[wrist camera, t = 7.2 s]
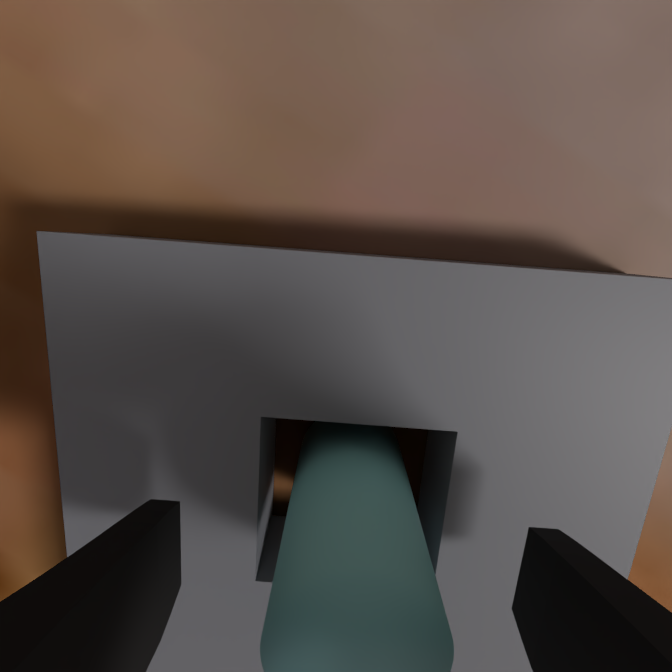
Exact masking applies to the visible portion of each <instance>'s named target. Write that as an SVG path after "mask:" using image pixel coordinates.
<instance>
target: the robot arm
mask: <svg viewBox="0 0 672 672" xmlns="http://www.w3.org/2000/svg"><path fill="white" fill-rule="evenodd" d="M180 587H181V526H180V501H170V500H157V499H150V500H148V501H147V502H145V503H144V504H142V505H141V506H139V507H138V508H136V509H135V510H134V511H132V512H131V513H129V514H128V515H127V516H125V517H124V518H122V519H121V520H120V521H118V522H117V523H115V524H114V525H113V526H111V527H110V528H108V529H107V530H106V531H104V532H103V533H101V534H100V535H99V536H97V537H96V538H94V539H93V540H91V541H90V542H89V543H87V544H86V545H84V546H83V547H81V548H80V549H79V550H77V551H76V552H74V553H73V554H71V555H70V556H68V557H67V558H66V559H64V560H63V561H61V562H60V563H58V564H57V565H56V566H54V567H53V568H51V569H50V570H48V571H47V572H45V573H44V574H42V575H41V576H39V577H38V578H36V579H35V580H33V581H32V582H30V583H29V584H27V585H25V586H24V587H22V588H21V589H19V590H18V591H16V592H15V593H13V594H12V595H10V596H9V597H7V598H5V599H4V600H2V601H1V602H0V672H146V671H147V669H148V666H149V664H150V662H151V660H152V658H153V656H154V654H155V652H156V650H157V648H158V645H159V643H160V641H161V639H162V636H163V633H164V631H165V628H166V626H167V623H168V620H169V618H170V615H171V612H172V609H173V607H174V604H175V601H176V598H177V595H178V593H179V590H180ZM512 611H513V615H514V618H515V621H516V624H517V627H518V630H519V633H520V636H521V640H522V643H523V645H524V648H525V651H526V654H527V657H528V660H529V663H530V665H531V668H532V670H533V672H672V613H671V612H670V611H669V610H667V609H666V608H665V607H663V606H662V605H661V604H659V603H658V602H657V601H655V600H654V599H653V598H651V597H650V596H649V595H647V594H646V593H645V592H643V591H642V590H641V589H639V588H638V587H637V586H635V585H634V584H633V583H631V582H630V581H629V580H627V579H626V578H625V577H623V576H622V575H621V574H619V573H618V572H617V571H615V570H614V569H613V568H612V567H610V566H609V565H608V564H606V563H605V562H604V561H602V560H601V559H600V558H598V557H597V556H596V555H594V554H593V553H592V552H590V551H589V550H588V549H586V548H585V547H583V546H582V545H581V544H579V543H578V542H577V541H575V540H574V539H572V538H571V537H570V536H568V535H567V534H565V533H564V532H562V531H561V530H559V529H551V528H537V527H529V528H528V533H527V538H526V543H525V547H524V552H523V557H522V562H521V566H520V571H519V576H518V580H517V585H516V590H515V595H514V599H513V604H512Z"/></svg>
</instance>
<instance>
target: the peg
mask: <svg viewBox="0 0 672 672" xmlns="http://www.w3.org/2000/svg"><path fill="white" fill-rule="evenodd" d="M260 658H261V663H262V667H263V670H264V672H451V668H452V664H453V659H454V644H453V638H452V634H451V630H450V626H449V623H448V619H447V616H446V612H445V608H444V605H443V601H442V598H441V594H440V591H439V587H438V583H437V580H436V576H435V573H434V569H433V565H432V562H431V558H430V555H429V551H428V547H427V544H426V540H425V537H424V533H423V530H422V526H421V522H420V519H419V515H418V512H417V508H416V504H415V501H414V497H413V494H412V490H411V486H410V483H409V479H408V476H407V472H406V469H405V465H404V461H403V458H402V454H401V451H400V447H399V443H398V440H397V437H396V435H395V433H394V432H393V430H392V428H391V427H390V426H376V425H363V424H350V423H337V422H324V421H315V422H314V423H313V424H312V425H311V426H310V427H309V429H308V430H307V432H306V433H305V436H304V438H303V441H302V444H301V449H300V454H299V458H298V463H297V468H296V473H295V477H294V482H293V487H292V492H291V497H290V501H289V506H288V511H287V516H286V520H285V525H284V530H283V535H282V540H281V544H280V549H279V554H278V559H277V563H276V568H275V573H274V578H273V583H272V587H271V592H270V597H269V602H268V607H267V611H266V616H265V621H264V626H263V630H262V635H261V642H260Z"/></svg>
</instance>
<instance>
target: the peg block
mask: <svg viewBox="0 0 672 672" xmlns="http://www.w3.org/2000/svg"><path fill="white" fill-rule="evenodd" d="M37 242H38V252H39V263H40V274H41V284H42V295H43V306H44V316H45V327H46V338H47V348H48V359H49V370H50V380H51V391H52V402H53V412H54V423H55V433H56V444H57V455H58V465H59V476H60V487H61V497H62V508H63V519H64V529H65V540H66V551H67V557H68V556H70V555H71V554H73V553H74V552H76V551H77V550H79V549H80V548H81V547H83V546H84V545H86V544H87V543H89V542H90V541H91V540H93V539H94V538H96V537H97V536H99V535H100V534H101V533H103V532H104V531H106V530H107V529H108V528H110V527H111V526H113V525H114V524H115V523H117V522H118V521H120V520H121V519H122V518H124V517H125V516H127V515H128V514H129V513H131V512H132V511H134V510H135V509H136V508H138V507H139V506H141V505H142V504H144V503H145V502H147V501H148V500H150V499H157V500H170V501H180V526H181V587H180V590H179V593H178V595H177V598H176V601H175V604H174V607H173V609H172V612H171V615H170V618H169V620H168V623H167V626H166V628H165V631H164V633H163V636H162V639H161V641H160V643H159V645H158V648H157V650H156V652H155V654H154V656H153V658H152V660H151V662H150V664H149V666H148V669H147V671H146V672H264V670H263V667H262V663H261V658H260V642H261V635H262V630H263V626H264V621H265V616H266V611H267V607H268V602H269V597H270V592H271V587H272V583H273V578H274V573H275V568H276V563H277V559H278V554H279V549H280V544H281V540H282V535H283V530H284V525H285V520H286V516H274V515H272V510H273V487H274V464H275V441H276V418H284V419H297V420H310V421H324V422H337V423H350V424H363V425H376V426H390V427H403V428H416V429H428V434H427V441H426V448H425V456H424V463H423V470H422V477H421V485H420V492H419V499H418V507H417V512H418V515H419V519H420V522H421V526H422V530H423V533H424V537H425V540H426V544H427V547H428V551H429V555H430V558H431V562H432V565H433V569H434V573H435V576H436V580H437V583H438V587H439V591H440V594H441V598H442V601H443V605H444V608H445V612H446V616H447V619H448V623H449V626H450V630H451V634H452V638H453V644H454V659H453V664H452V668H451V672H533V670H532V668H531V665H530V663H529V660H528V657H527V654H526V651H525V648H524V645H523V643H522V640H521V636H520V633H519V630H518V627H517V624H516V621H515V618H514V615H513V611H512V604H513V599H514V595H515V590H516V585H517V580H518V576H519V571H520V566H521V562H522V557H523V552H524V547H525V543H526V538H527V533H528V528H529V527H537V528H551V529H559V530H561V531H562V532H564V533H565V534H567V535H568V536H570V537H571V538H572V539H574V540H575V541H577V542H578V543H579V544H581V545H582V546H583V547H585V548H586V549H588V550H589V551H590V552H592V553H593V554H594V555H596V556H597V557H598V558H600V559H601V560H602V561H604V562H605V563H606V564H608V565H609V566H610V567H612V568H613V569H614V570H615V571H617V572H618V573H619V574H621V575H622V576H623V577H625V578H626V579H627V580H628V576H629V573H630V569H631V566H632V562H633V559H634V555H635V552H636V548H637V545H638V541H639V538H640V534H641V531H642V528H643V524H644V521H645V517H646V514H647V510H648V507H649V503H650V500H651V496H652V493H653V489H654V486H655V482H656V479H657V476H658V472H659V469H660V465H661V462H662V458H663V455H664V451H665V448H666V444H667V441H668V437H669V434H670V430H671V427H672V278H665V277H655V276H645V275H635V274H625V273H612V272H599V271H585V270H572V269H559V268H546V267H533V266H520V265H507V264H493V263H480V262H467V261H454V260H441V259H428V258H414V257H401V256H388V255H375V254H362V253H349V252H336V251H322V250H309V249H296V248H283V247H270V246H257V245H244V244H230V243H217V242H204V241H191V240H178V239H165V238H151V237H138V236H125V235H112V234H93V233H70V232H48V231H37Z"/></svg>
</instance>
